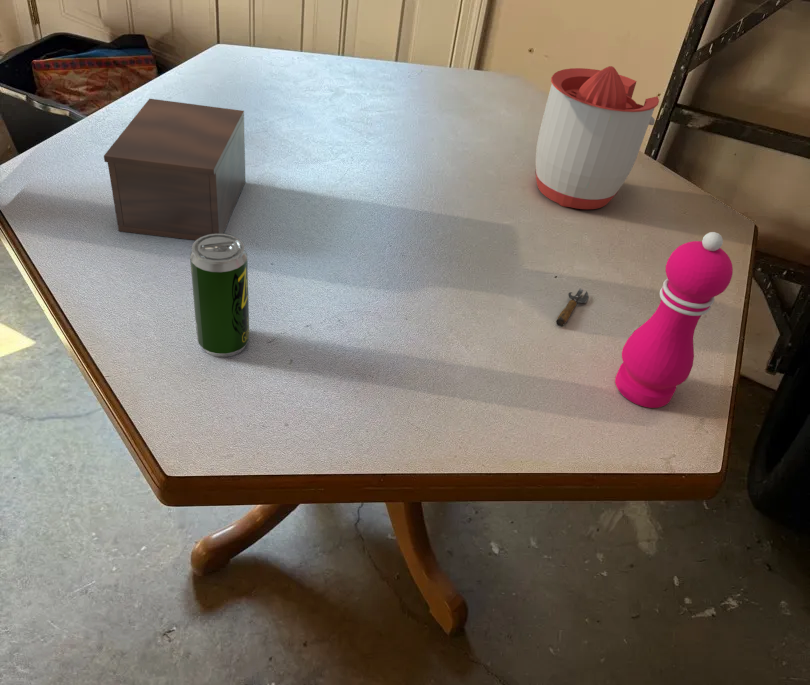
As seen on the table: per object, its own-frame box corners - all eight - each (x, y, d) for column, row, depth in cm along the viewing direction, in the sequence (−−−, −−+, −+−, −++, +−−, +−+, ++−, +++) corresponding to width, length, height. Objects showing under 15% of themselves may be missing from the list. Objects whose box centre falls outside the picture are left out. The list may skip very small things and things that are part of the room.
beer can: (199, 361, 72) (190, 264, 65) (196, 328, 76) (187, 233, 69) (252, 356, 74) (250, 261, 66) (246, 324, 78) (244, 231, 70)
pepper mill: (617, 407, 75) (689, 249, 62) (604, 362, 80) (668, 209, 68) (683, 415, 75) (768, 259, 62) (666, 370, 81) (741, 218, 68)
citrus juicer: (649, 215, 109) (700, 88, 97) (551, 221, 104) (591, 87, 91) (599, 168, 120) (638, 48, 108) (508, 171, 115) (538, 45, 102)
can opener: (562, 328, 84) (564, 321, 83) (545, 320, 85) (547, 312, 84) (592, 296, 90) (594, 289, 90) (575, 288, 91) (578, 281, 90)
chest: (219, 243, 89) (215, 172, 83) (118, 231, 88) (106, 159, 82) (245, 181, 102) (244, 116, 96) (157, 171, 101) (150, 104, 95)
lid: (214, 175, 82) (213, 169, 82) (104, 162, 82) (103, 155, 81) (244, 116, 96) (243, 110, 95) (150, 104, 95) (149, 98, 94)
